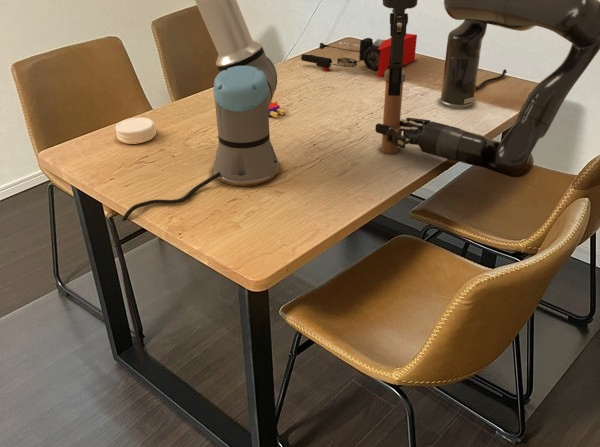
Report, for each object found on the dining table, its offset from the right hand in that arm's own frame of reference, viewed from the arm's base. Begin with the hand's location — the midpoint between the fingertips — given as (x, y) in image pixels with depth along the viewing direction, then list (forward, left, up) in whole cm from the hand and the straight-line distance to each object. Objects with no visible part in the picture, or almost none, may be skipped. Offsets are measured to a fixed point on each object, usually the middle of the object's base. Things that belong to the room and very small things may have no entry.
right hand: (381, 124), depth 153 cm
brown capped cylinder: (0, +3, -6) cm, 7 cm away
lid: (0, +3, +13) cm, 14 cm away
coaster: (+32, -55, -6) cm, 64 cm away
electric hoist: (-53, -41, -6) cm, 67 cm away
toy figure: (-1, -39, -6) cm, 39 cm away
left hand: (0, +3, +10) cm, 10 cm away
